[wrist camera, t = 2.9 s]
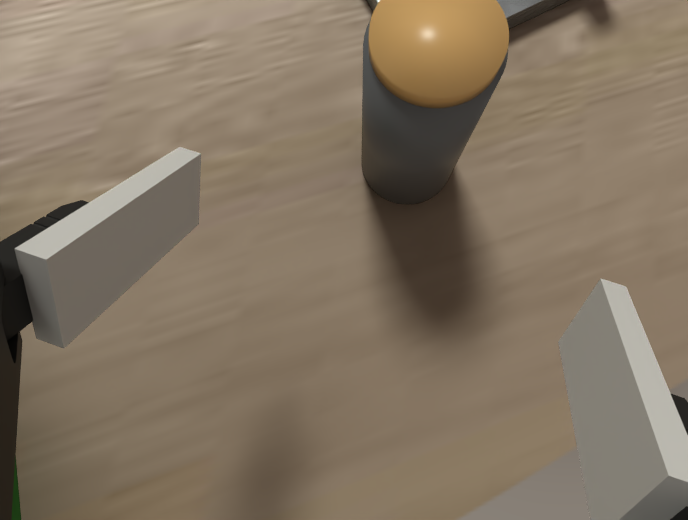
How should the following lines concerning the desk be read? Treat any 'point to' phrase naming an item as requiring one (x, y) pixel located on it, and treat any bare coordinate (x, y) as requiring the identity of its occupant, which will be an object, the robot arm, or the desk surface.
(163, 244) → the robot arm
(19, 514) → the hardback book
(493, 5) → the grey cylinder orange top
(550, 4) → the plate
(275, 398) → the desk surface
